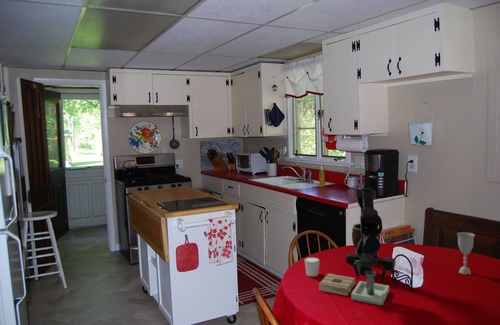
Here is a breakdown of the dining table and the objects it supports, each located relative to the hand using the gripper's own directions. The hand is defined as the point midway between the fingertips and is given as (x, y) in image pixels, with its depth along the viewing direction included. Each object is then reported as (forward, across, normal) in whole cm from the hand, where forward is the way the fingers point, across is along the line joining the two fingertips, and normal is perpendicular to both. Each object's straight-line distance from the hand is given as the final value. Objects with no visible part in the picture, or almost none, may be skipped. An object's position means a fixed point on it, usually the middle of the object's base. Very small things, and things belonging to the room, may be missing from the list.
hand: (370, 281), depth 161 cm
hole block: (+6, -14, +2) cm, 16 cm away
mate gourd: (+6, -12, +43) cm, 45 cm away
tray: (+6, 0, 0) cm, 6 cm away
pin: (+5, 0, 0) cm, 5 cm away
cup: (+6, -30, +12) cm, 32 cm away
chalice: (+6, +34, +42) cm, 54 cm away
